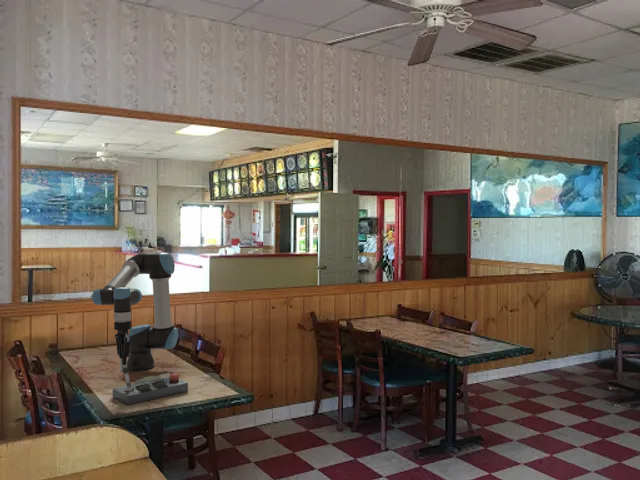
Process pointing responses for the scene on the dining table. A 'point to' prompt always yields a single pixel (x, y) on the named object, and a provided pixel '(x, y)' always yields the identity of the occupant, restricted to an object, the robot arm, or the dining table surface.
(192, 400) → the dining table surface
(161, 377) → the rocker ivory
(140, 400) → the panel
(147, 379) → the white flat block
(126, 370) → the lever
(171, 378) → the button
